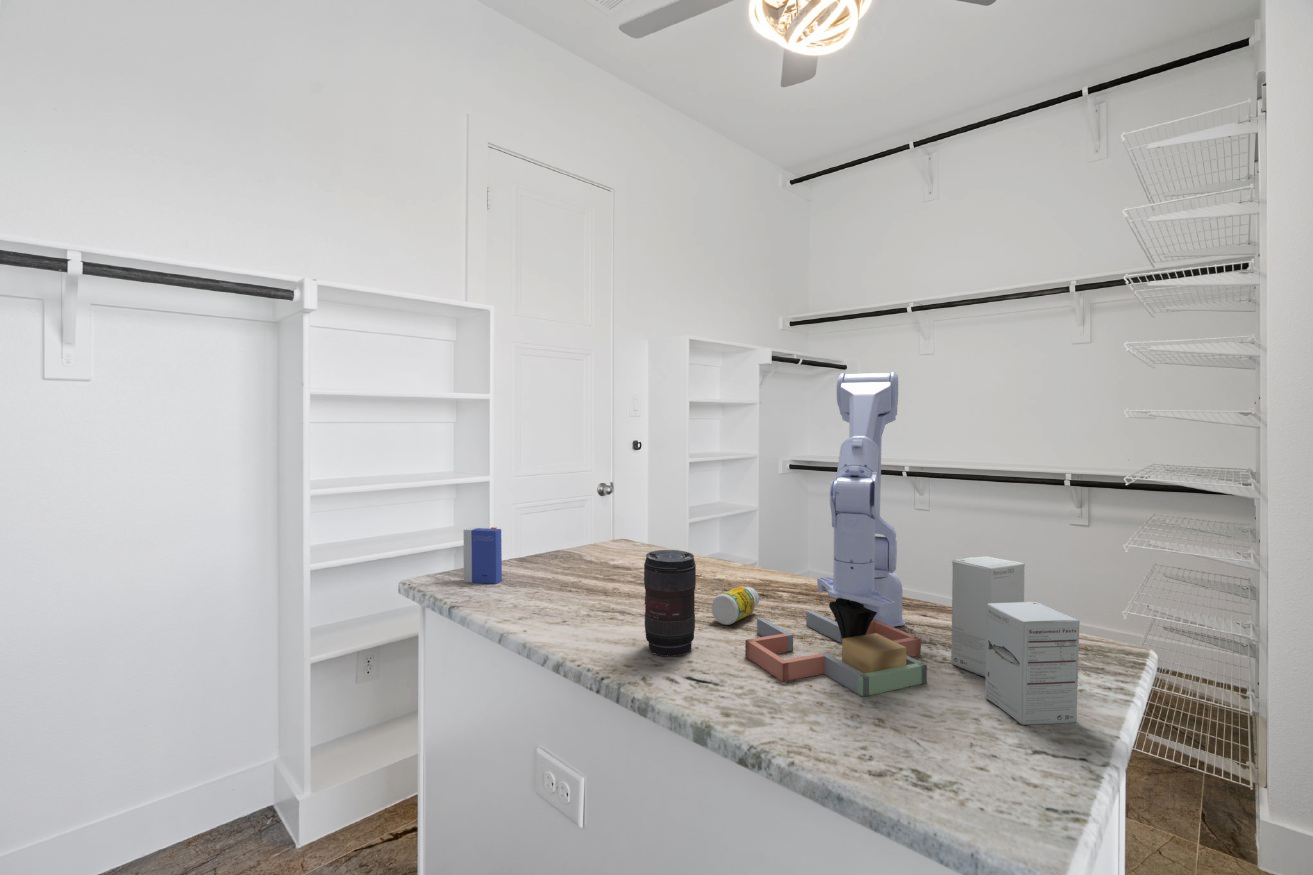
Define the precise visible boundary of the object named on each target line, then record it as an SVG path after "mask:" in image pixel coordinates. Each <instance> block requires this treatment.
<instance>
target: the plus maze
mask: <svg viewBox="0 0 1313 875" xmlns="http://www.w3.org/2000/svg"><path fill="white" fill-rule="evenodd" d="M805 614H806V617H805V618H806V621H805V625H806V626H807V627H808V628H811V629H813V631H814V630H815V631H816V632H819V633H821V634H822V635H824V636H826V637H829V638H830V639H832V640H834V641H836V642H837V643H842V637H841V633H840V630H839V626H838V624H837V621H834V620H832V619H829V618H828V617H826V616H823V615H821V614H820V613H817V612H815V611H813V610H806V613H805ZM756 633H757V634H758V635H760V636H761V637H754V638H747V639H745V643H744V644H745V646H744V647H745V650H744V653H745V654H744V656H745V657H747V658H748V659H749V660H751V661H752V662H753V663H755V664H756V665H758V666H760V668H762V669H763V670H765V671H766V672H769V673H770V674H771V675H772V676H774V677H775V678H777V679H779V681H781V682H786V681H787V682H788V681H792V680H798V679H802V678H806V677H807V678H808V677H814V676H818V675H823V674H824V675H826V676H828V677H829V678H831V679H833V680H835V681H836V682H838V683H839V684H841V685H843V686H844V687H846V688H847V689H849V690H851V691H853V692H854V693H856V694H858V695H859V696H861V697H868V696H872V695H876V694H881V693H887V692H891V691H895V690H899V689H900V690H901V689H905V688H909V686H910V687H914V686H918V685H923V683H924V684H928V681H927V680H928V664H926V663H924V662H922V661H920V660H918V659H916V658H913V657H915V656H917V657H918V656H920V655H921V654H922V653H921V649H922V648H921V646H922V639H921V637H918V636H915V635H913V634H910V633H908V632H906V631H904V630H901V629H899V628H896V627H892V626H890V625H887V624H885V623H883V622H880V621H878V620H875V619H873V620H872V622H871V623H870V625H869V628H868V630H867V633H866V635H868V634H874V633H877V634H879V635H881V636H883V637H885V638H888V639H890V640H892V641H894V642H896V643H898V644H900V645H903V646H905V647H906V665H905V666H900V667H895V668H890V669H885V670H880V671H875V672H870V673H865V674H864V673H862V672H860V671H858V670H856V669H855V668H853V667H851V666H849V665H847V664H845V663H844V662H842V660H840V659H838V658H836V657H834V656H833V655H831V654H830V653H827V652H822V653H816V654H810V655H805V656H800V657H794V658H789V659H788V658H787V659H784V658H782V657H781V656H779V655H778V654H781V653H787V652H793V651H794V634H793V633H791V632H789V631H787V630H785V629H784V628H782V627H780V626H778V625H776V624H774V623H773V622H771V621H769V620H767V619H766V618H763V617H758V618H756Z"/></svg>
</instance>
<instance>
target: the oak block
mask: <svg viewBox="0 0 1313 875" xmlns="http://www.w3.org/2000/svg"><path fill="white" fill-rule="evenodd" d="M841 644H842V645H841V646H842V648H841V661H842V662H844V663H845V664H847V665H849V666H851V667H853V668H855V669H856V670H858V671H860V672H862V673H864V674H865V673H870V672H875V671H880V670H885V669H890V668H895V667H900V666H905V665H906V647H905V646H903V645H900V644H898V643H896V642H894V641H892V640H890V639H888V638H885V637H883V636H881V635H879V634H877V633H874V634H868V635H862V636H855V637H849V638H843V639H842V642H841Z"/></svg>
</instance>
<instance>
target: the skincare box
mask: <svg viewBox="0 0 1313 875" xmlns="http://www.w3.org/2000/svg"><path fill="white" fill-rule="evenodd" d="M951 564H952V580H951V581H952V582H951V583H952V587H951V588H952V591H951V592H952V594H951V597H952V598H951V599H952V600H951V603H952V604H951V649H950V650H951V652H950V653H951V656H950V659H951V662H950V663H951V665H953V666H956V667H957V668H960V669H964V670H965V671H967V672H970V673H974V674H976V675H979V676H981V677H984V678H986V640H987V604H990V603H1014V602H1025V562H1020V561H1015V560H1009V559H1003V558H998V557H992V556H987V555H986V556H974V557H971V556H970V557H965V558H957V559H952V561H951Z"/></svg>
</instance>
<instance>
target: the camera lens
mask: <svg viewBox="0 0 1313 875" xmlns="http://www.w3.org/2000/svg"><path fill="white" fill-rule="evenodd" d="M645 556H646V557H645V559H644V564H643V583H644V589H645V592H644V593H645V596H644V611H645V612H644V632H645V640H646V641H647V642H648V650H649V652H650V653H652V654H654V655H657V656H662V657H680V656H683V655H686V654H688V653H690V651H692V645H693V644H692V643H693V641H694V638H695V628H696V615H695V612H696V611H695V610H696V609H695V604H696V602H695V596H696V595H695V594H696V593H695V591H696V586H697V584H696V580H697V579H696V578H697V575H696V574H697V573H696V572H697V570H696V568H697V566H696V561H695V555H694V554H693V553H691V552H689V551H685V550H679V549H658V550H651V551H650V552H647V553H646V555H645Z"/></svg>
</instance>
